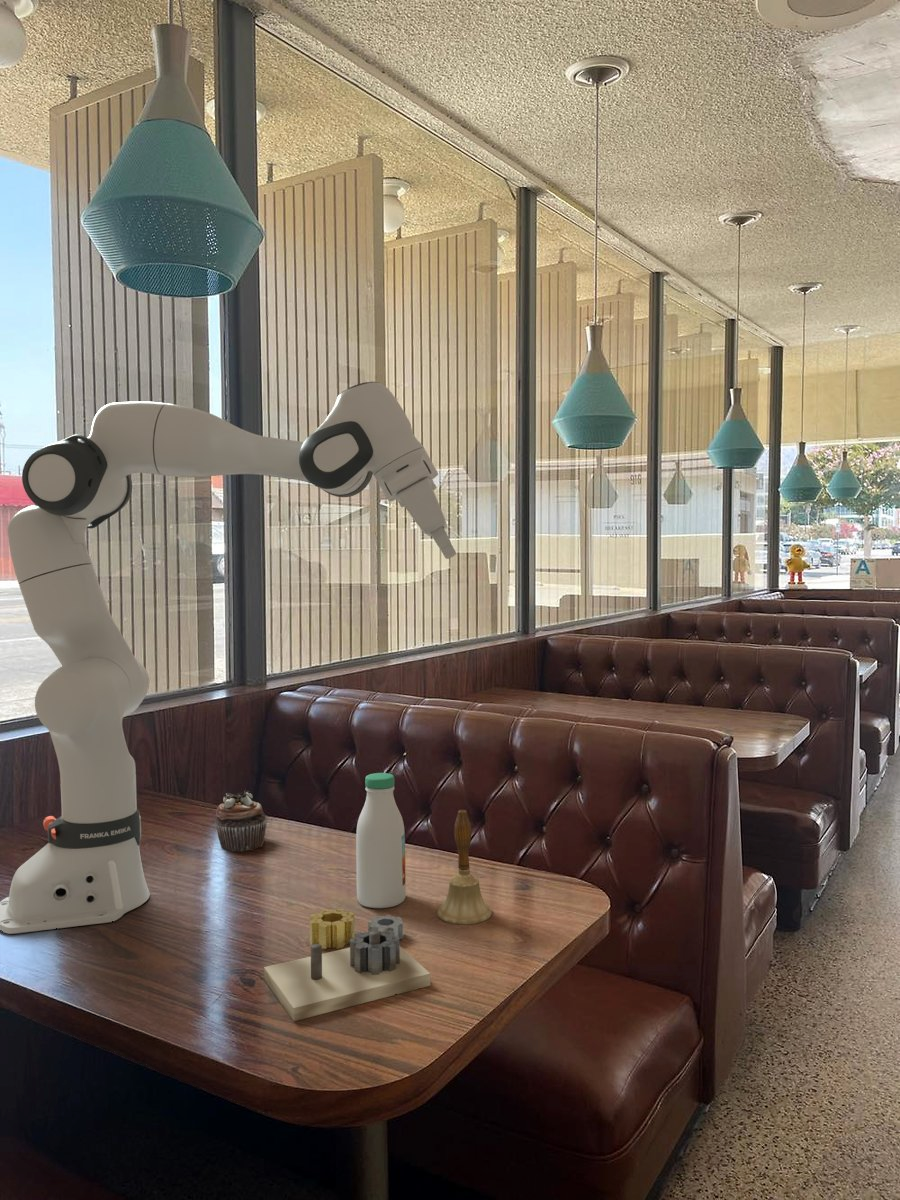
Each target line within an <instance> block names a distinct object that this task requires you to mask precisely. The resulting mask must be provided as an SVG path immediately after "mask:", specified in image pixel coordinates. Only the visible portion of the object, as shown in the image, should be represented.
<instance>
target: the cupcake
mask: <svg viewBox="0 0 900 1200" xmlns="http://www.w3.org/2000/svg"><path fill="white" fill-rule="evenodd" d="M253 797H254V796H253V794H252V792H251V791H250V790H246V789H244V791H242V792H240V793H234V794H233V793H230V792H225V793H224V796H223V799H222V800H223V801H222V803H220V804H219V805H218V807H216V810H215V814H216V816H215V818H214V825H215V830H216V832H217V837H218V841H219V844H220V847H221V849H222V850H223V849H224V851H226V852H234V851H239V852H246V850H249V851H252V850H251V849H253V850H256V849H255V848H257V849H259V848H261V847H262V846H263V844H264V843H265V834H266V828H267V823H268V817H267V815H266V814H265V813H264V811H263V807H262V805H261V803H259V802H256V801H253ZM261 845H262V846H261ZM260 846H261V847H260ZM258 847H259V848H258Z"/></svg>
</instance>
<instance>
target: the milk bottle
mask: <svg viewBox="0 0 900 1200" xmlns="http://www.w3.org/2000/svg"><path fill="white" fill-rule="evenodd" d="M395 781H396V780H395V775H393V774H392V773H388V772H375V773H370V774H368V775H366V776H365V780H364V783H365V791H366V797H365V802H364V805H363V807H362V810H361V812H360V814H359V817H358V820H357V825H356V839H355V841H356V842H355V844H356V845H355V847H356V849H355V851H356V854H355V856H356V857H355V858H356V870H355V871H356V872H355V873H356V874H355V875H356V899H357V901H358V904H360V905H361V906H363V907H366V908H371V909H372V908H373V909H387V908H393V907H396V906H399V905H400V904H402V903H403V902H404V901H405V898H406V886H407V885H406V839H405V838H406V837H405V836H406V835H405V826H404V820H403V816H402V815H401V812H400V810H399V808H398V806H397V803H396V800H395V797H394V790H395Z"/></svg>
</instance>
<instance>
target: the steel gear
mask: <svg viewBox="0 0 900 1200" xmlns="http://www.w3.org/2000/svg"><path fill="white" fill-rule="evenodd" d="M372 931H378V929H371V931H368V930H367V931H364V932H362V931H359V932H355V936H354V938H355V939H350V943H349V948H350V966H355V971H356V972H358V973H362V972H368V973H371V975H379V972H382V971H390V972H391V971H393V970H395V969H396V964H400V947H401V945H400V939H399V936H398V937H395V935H394V932H392V931H390V930H388V931H386V932H385V931H382V932H381V931H378V932H380V944H369V933H370V932H372Z"/></svg>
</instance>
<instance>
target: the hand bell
mask: <svg viewBox="0 0 900 1200" xmlns="http://www.w3.org/2000/svg"><path fill="white" fill-rule="evenodd" d="M454 841H455V843H456V844H455V845H456V847H457V851H458V852H457V853H458V859H457V861H458V863H457V864H458V866H457V867H458V873H457V874H455V875H453V876H451V878H450V879H449V885H448V891H447V892H448V893H447V895H446V899H445V901H444V902H443V903H442V904H441V905H440V906H439V907H438V910H437V913H436V914H437V916H438V918H439V919H441V920H442V921H444V922H446V923H449V924H454V925H474V924H479V923H483V922H484V921H485V922H486V920H488V919H490V917H492V913H493V911H492V909H491V907H490V906H489V905H488V904H487V903H486V902H485V900H484V898H483V895H482V892H481V888H480V880H479V878H478V877H477V876H476V875H474V874H471V869H470V856H469V849H470V846H471V843H472V842H471V841H472V825H471V822H470V818H469V816H468V812H467V810H466V809H459V810H458V811H457V816H456V819H455V823H454Z"/></svg>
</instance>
